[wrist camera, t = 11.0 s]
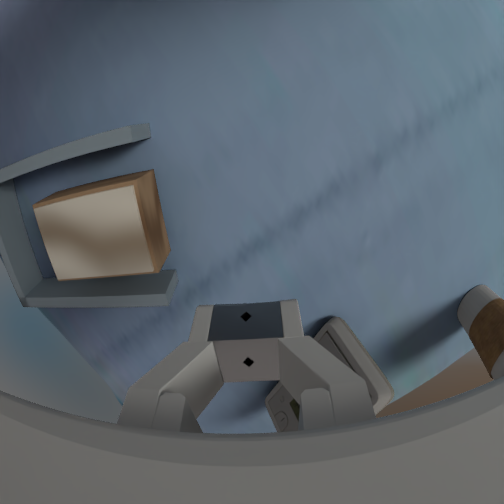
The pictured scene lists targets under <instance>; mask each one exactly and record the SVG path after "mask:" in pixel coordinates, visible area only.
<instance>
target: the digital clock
mask: <svg viewBox="0 0 504 504" xmlns="http://www.w3.org/2000/svg"><path fill="white" fill-rule="evenodd" d="M313 339H314V340H315V341H316V342H318V343H319V344H320V345H321V346H323V347H324V348H325V349H326V350H328V351H329V352H330V353H331V354H333V355H334V356H335V357H336V358H338V359H339V360H340V361H341V362H343V363H344V364H345V365H346V366H348V367H349V368H350V369H351V370H353V371H354V372H355V373H356V374H358V375H359V376H360V377H362V378H363V379H364V380H365V382H366V385H367V388H368V392H369V395H370V398H371V402H372V405H373V409H374V412H375V415H376V414H377V413H378V412H380V411H381V410H382V409H383V408H384V407H385V406H386V405H387V404H388V403H389V402H390V401H391V400H392V399H393V397H394V390H393V388H392V386H391V384H390V383H389V381H388V380H387V378H386V377H385V375H384V374H383V373H382V371H381V370H380V368H379V367H378V366H377V364H376V363H375V362H374V360H373V359H372V357H371V356H370V355H369V353H368V352H367V351H366V349H365V348H364V346H363V345H362V344H361V342H360V341H359V340H358V338H357V337H356V336H355V334H354V333H353V332H352V330H351V329H350V327H349V326H348V325H347V324H346V322H345V321H344V320H343V319H341V318H340V317H332V318H331V319H330V320H329V321H328V322H327V323H326V324H325V325H324V326H323V327H322V328H321V330H320V331H319V332H318V333H317V335H316V336H315V337H314V338H313ZM265 405H266V408H267V410H268V412H269V415H270V417H271V419H272V421H273V424H274V426H275V428H276V430H277V432H288V431H298V425H299V412H300V405H299V404H298V403H297V401H296V400H295V399H294V398H293V397H292V395H291V394H290V393H289V392H288V391H287V389H286V388H285V387H284V386H283V384H282V383H281V382H280V381H279V382H278V383H277V385H276V386H275V387H274V388H273V389H272V391H271V392H270V393H269V394H268V396H267V397H266V399H265Z"/></svg>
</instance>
